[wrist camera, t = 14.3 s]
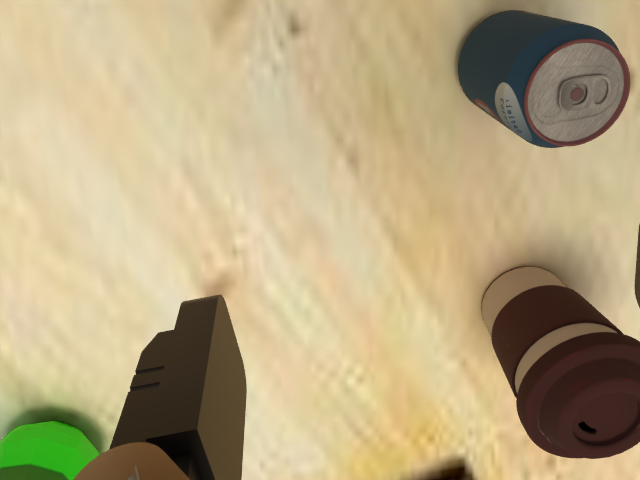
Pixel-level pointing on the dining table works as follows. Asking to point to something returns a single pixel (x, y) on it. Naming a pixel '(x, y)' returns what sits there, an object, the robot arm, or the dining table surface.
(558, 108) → the soda can
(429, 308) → the dining table surface
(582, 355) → the coffee cup
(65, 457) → the plastic bottle
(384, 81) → the dining table surface
